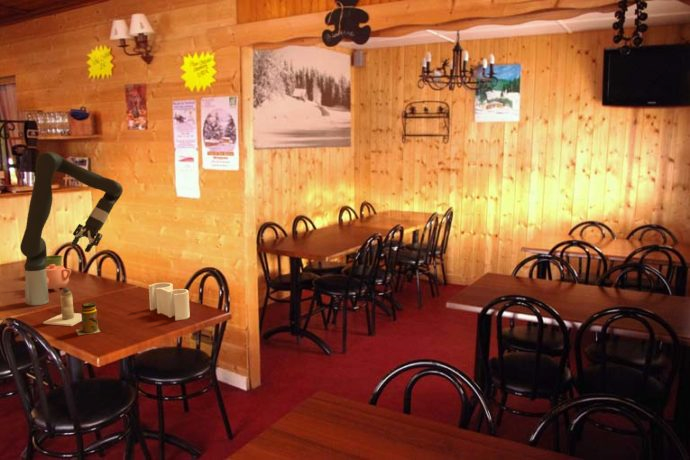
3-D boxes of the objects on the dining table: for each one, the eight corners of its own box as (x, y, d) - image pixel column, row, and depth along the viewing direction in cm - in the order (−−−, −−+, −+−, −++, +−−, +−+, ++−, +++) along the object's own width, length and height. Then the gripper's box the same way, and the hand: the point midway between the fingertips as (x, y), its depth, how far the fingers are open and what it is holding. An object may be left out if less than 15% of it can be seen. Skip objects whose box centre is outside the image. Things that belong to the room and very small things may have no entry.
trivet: (43, 323, 251) (43, 322, 250) (64, 313, 264) (64, 312, 264) (71, 326, 248) (71, 324, 248) (91, 316, 261) (91, 314, 261)
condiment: (100, 332, 241) (98, 304, 239) (78, 335, 237) (76, 308, 235) (97, 327, 247) (95, 300, 245) (75, 330, 243) (73, 303, 241)
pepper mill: (59, 319, 254) (57, 288, 252) (66, 316, 259) (64, 285, 256) (69, 320, 253) (66, 289, 251) (76, 316, 258) (74, 286, 255)
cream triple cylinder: (194, 316, 262) (193, 291, 260) (175, 321, 255) (174, 295, 253) (167, 305, 279) (165, 281, 277) (148, 309, 272) (147, 285, 270)
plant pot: (67, 273, 339) (66, 255, 337) (58, 278, 327) (56, 259, 325) (47, 273, 338) (46, 254, 336) (37, 278, 327) (35, 259, 325)
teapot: (43, 295, 294) (41, 269, 292) (31, 288, 305) (29, 264, 303) (75, 289, 306) (73, 264, 304) (62, 283, 317) (60, 259, 315)
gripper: (81, 211, 273) (63, 241, 269) (103, 221, 268) (85, 251, 265) (91, 216, 280) (74, 245, 276) (112, 226, 275) (95, 256, 272)
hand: (79, 248), depth 271 cm, fingers open, 8 cm apart
